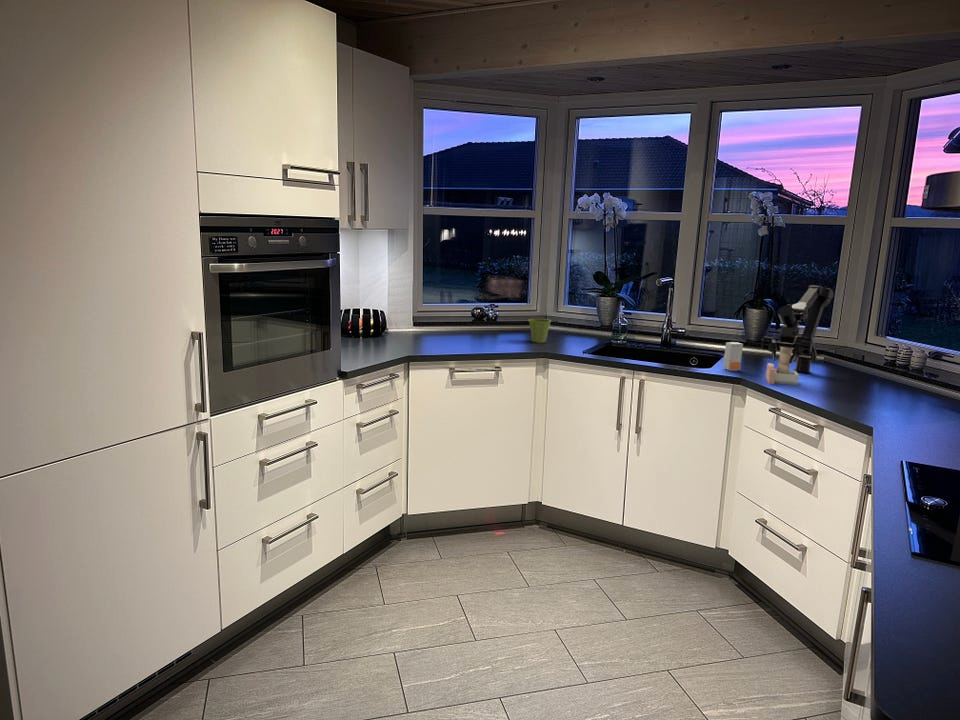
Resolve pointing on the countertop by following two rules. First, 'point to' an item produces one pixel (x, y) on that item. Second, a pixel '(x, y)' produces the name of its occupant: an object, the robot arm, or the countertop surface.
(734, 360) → the skincare box
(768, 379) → the backstop wall
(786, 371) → the dowel
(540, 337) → the plant pot
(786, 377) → the cradle
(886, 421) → the countertop surface
